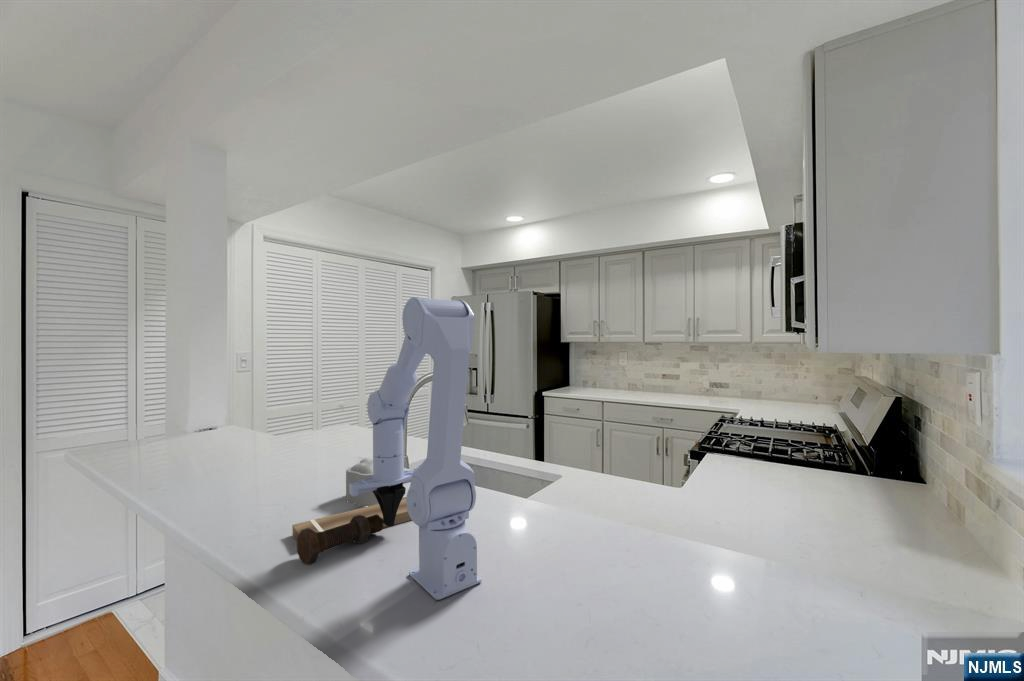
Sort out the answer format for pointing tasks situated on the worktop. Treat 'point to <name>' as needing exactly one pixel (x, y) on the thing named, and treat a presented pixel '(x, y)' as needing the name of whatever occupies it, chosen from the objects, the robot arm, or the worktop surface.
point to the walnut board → (346, 517)
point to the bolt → (336, 536)
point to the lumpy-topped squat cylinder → (357, 474)
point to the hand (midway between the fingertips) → (388, 524)
